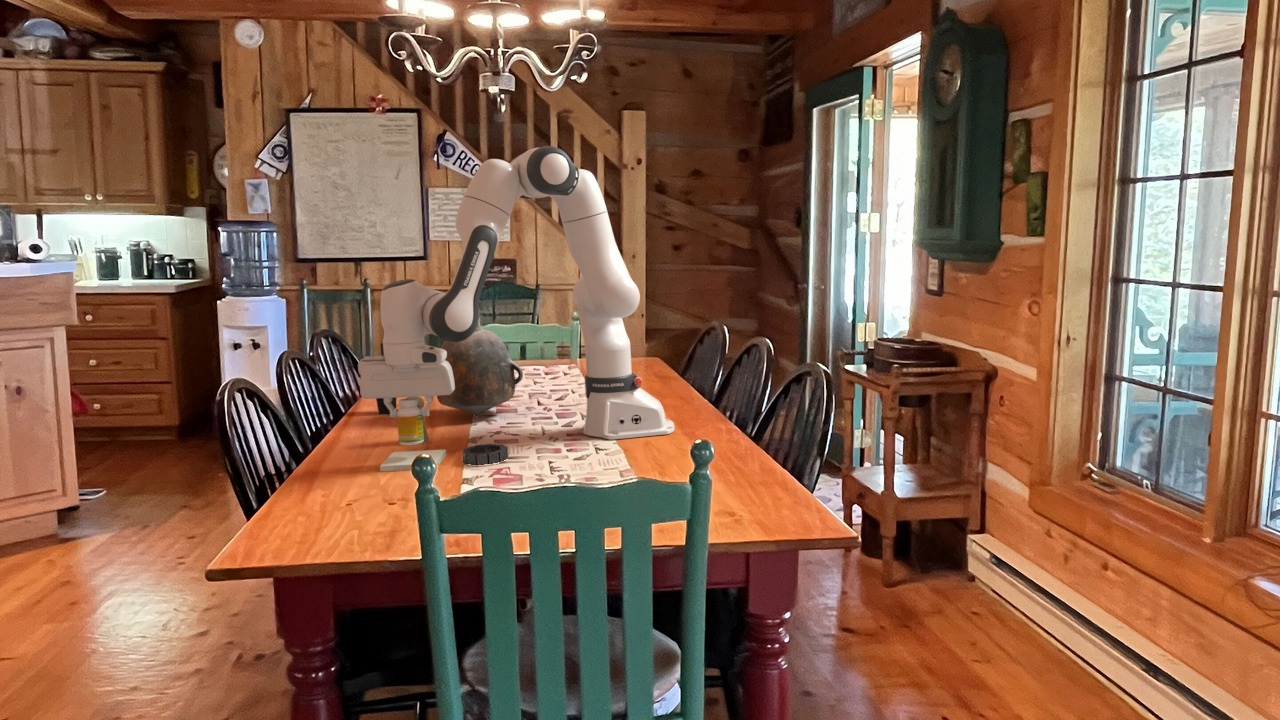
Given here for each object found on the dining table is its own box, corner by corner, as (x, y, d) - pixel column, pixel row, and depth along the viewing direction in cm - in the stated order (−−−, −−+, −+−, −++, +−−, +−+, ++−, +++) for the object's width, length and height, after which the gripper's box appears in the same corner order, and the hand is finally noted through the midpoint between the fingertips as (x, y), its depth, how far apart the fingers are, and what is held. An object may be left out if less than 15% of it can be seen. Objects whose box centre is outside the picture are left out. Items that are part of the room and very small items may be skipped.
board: (446, 454, 209) (445, 449, 209) (436, 468, 198) (435, 463, 197) (393, 457, 209) (393, 452, 209) (380, 471, 197) (380, 466, 197)
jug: (512, 404, 264) (505, 301, 260) (530, 418, 244) (522, 306, 240) (426, 414, 256) (417, 307, 251) (437, 429, 236) (428, 313, 231)
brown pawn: (422, 444, 221) (418, 399, 219) (399, 444, 222) (395, 399, 220) (433, 438, 226) (429, 394, 225) (410, 438, 228) (406, 394, 226)
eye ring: (510, 453, 208) (509, 442, 207) (505, 464, 198) (504, 453, 198) (467, 455, 208) (466, 445, 207) (460, 467, 198) (459, 456, 197)
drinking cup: (407, 411, 261) (401, 341, 258) (386, 416, 255) (380, 345, 252) (388, 409, 266) (382, 341, 262) (368, 414, 259) (361, 344, 256)
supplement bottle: (423, 444, 200) (420, 400, 199) (398, 446, 199) (394, 402, 198) (424, 439, 205) (421, 396, 204) (400, 441, 204) (396, 398, 203)
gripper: (353, 358, 196) (358, 421, 198) (448, 354, 197) (453, 417, 199) (361, 354, 203) (366, 415, 205) (453, 350, 203) (458, 411, 205)
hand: (410, 416), depth 202 cm, fingers closed on supplement bottle, 5 cm apart
